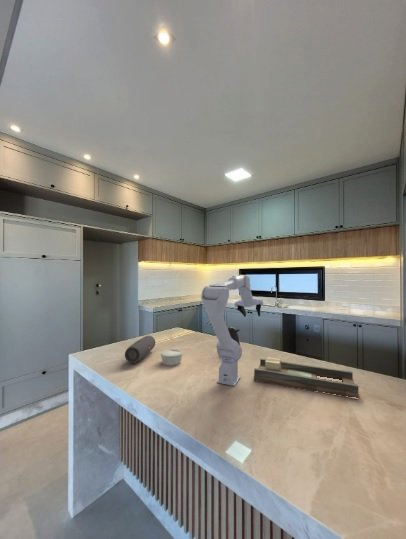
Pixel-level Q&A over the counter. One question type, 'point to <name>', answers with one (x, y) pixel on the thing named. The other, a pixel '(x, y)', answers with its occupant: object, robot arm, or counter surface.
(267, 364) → the maple block
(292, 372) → the walled deck
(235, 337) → the pump dispenser
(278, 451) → the counter surface
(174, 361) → the ramekin
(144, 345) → the bluetooth speaker
